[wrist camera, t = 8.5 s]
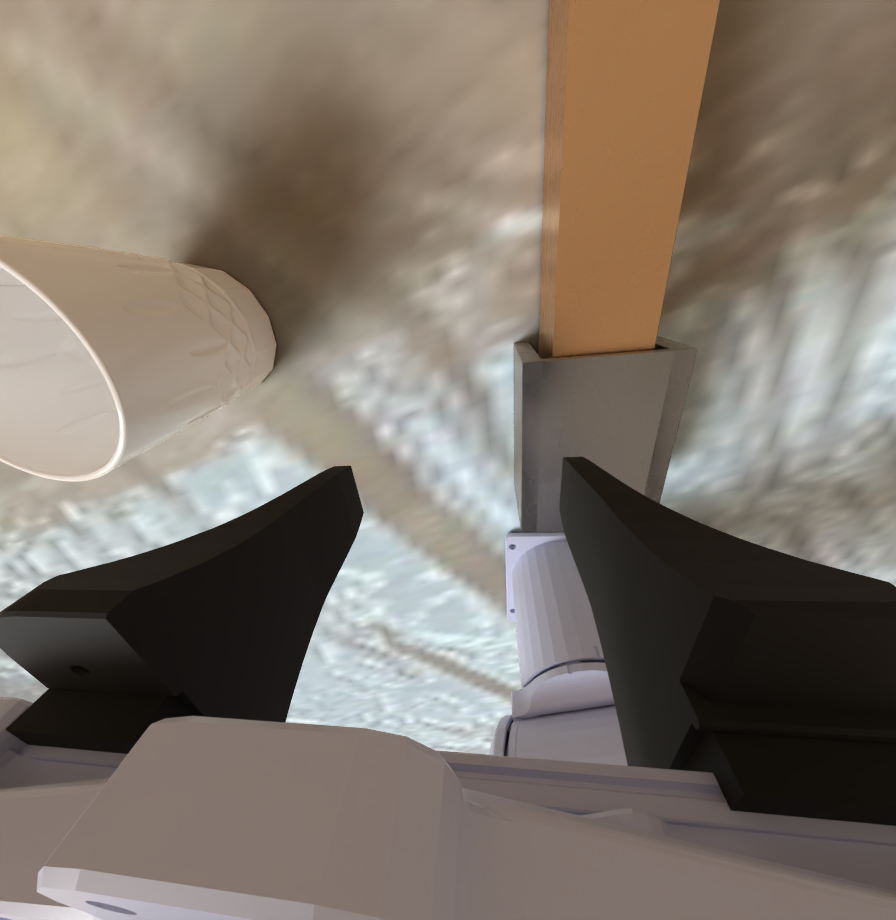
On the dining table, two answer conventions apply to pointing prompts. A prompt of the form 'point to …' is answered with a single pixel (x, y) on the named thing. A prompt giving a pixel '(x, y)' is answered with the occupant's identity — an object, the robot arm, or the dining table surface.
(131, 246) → the dining table surface
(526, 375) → the sleeve
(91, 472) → the white cup
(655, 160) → the tan wooden bar
